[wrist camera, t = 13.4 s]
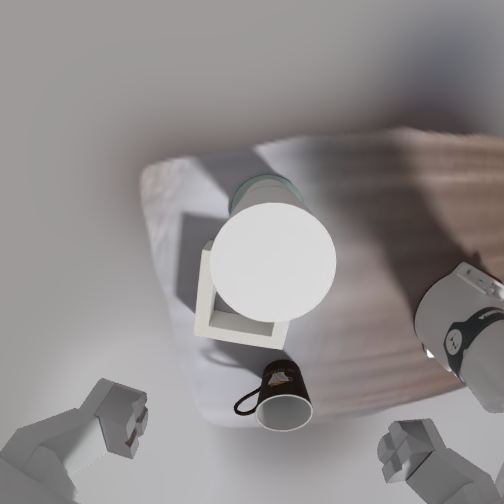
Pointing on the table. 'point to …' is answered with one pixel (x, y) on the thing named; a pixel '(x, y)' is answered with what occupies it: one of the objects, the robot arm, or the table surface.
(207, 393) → the table surface
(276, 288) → the cylindrical container
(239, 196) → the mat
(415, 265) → the table surface
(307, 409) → the coffee mug
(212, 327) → the holder
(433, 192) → the table surface
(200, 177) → the table surface
